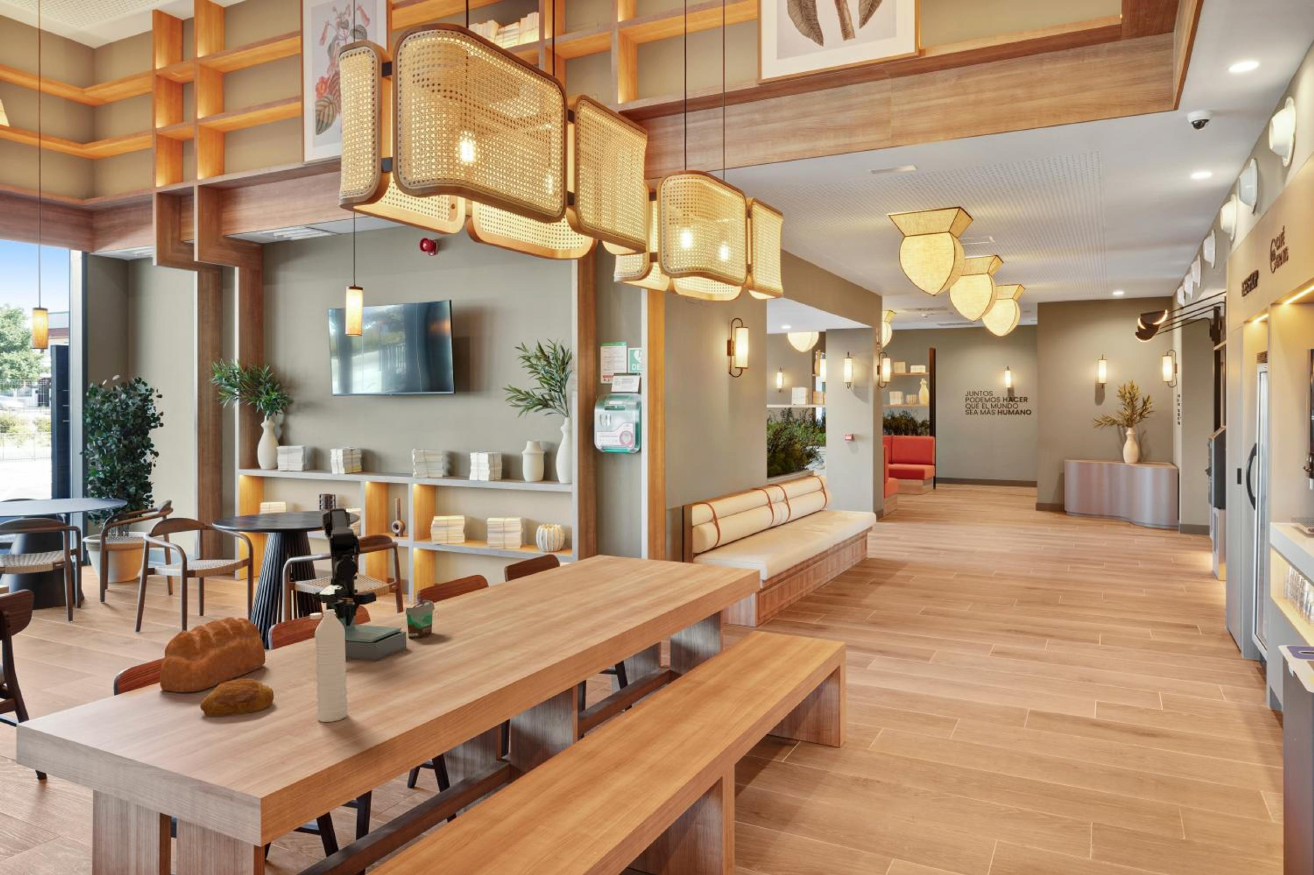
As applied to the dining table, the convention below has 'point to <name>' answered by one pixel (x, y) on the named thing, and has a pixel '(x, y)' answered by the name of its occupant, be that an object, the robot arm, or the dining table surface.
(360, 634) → the lid
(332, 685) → the water bottle
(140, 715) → the dining table surface
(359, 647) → the parts box
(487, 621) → the dining table surface
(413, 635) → the food container
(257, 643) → the bread
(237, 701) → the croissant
